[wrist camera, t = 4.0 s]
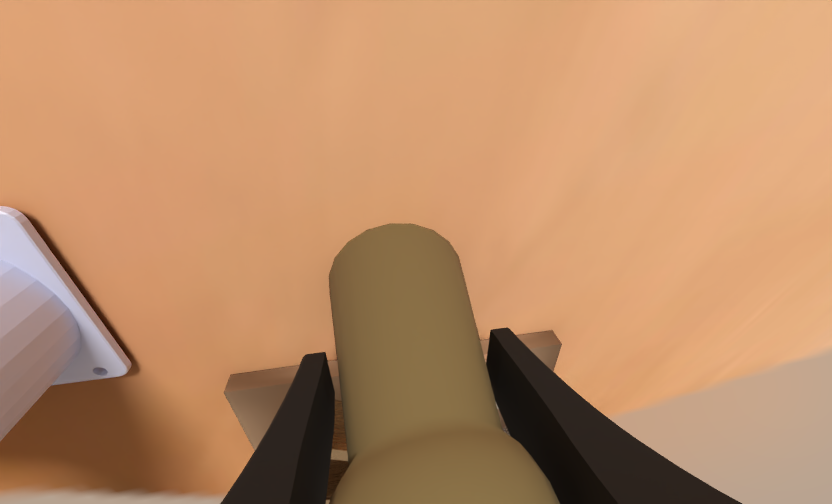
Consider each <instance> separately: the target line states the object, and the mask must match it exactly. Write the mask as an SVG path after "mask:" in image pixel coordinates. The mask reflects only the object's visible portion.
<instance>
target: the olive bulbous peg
mask: <svg viewBox="0 0 832 504" xmlns="http://www.w3.org/2000/svg"><path fill="white" fill-rule="evenodd" d="M329 288H330V299H331V308H332V317H333V326H334V336H335V345H336V354H337V363H338V372H339V381H340V390H341V399H342V408H343V417H344V426H345V435H346V445H347V454H348V463H349V467H348V469H347V471H346V472H345V474H344V475H343V477H342V478H341V480H340V482H339V484H338V485H337V487H336V489H335V491H334V493H333V494H332V496H331V498H330V502H329V504H560V503H559V500H558V498H557V496H556V494H555V492H554V490H553V488H552V486H551V483H550V481H549V480H548V478H547V477H546V476H545V474H544V473H543V472H542V470H541V469H540V467H539V466H538V465H537V463H536V462H535V460H534V459H533V458H532V456H531V455H530V454H529V453H528V452H527V450H526V449H525V448H524V447H523V446H522V445H521V444H520V443H519V442H518V441H516V440H515V439H514V438H512V437H511V436H509V435H508V434H507V433H505V432H504V431H503V429H502V425H501V421H500V417H499V413H498V409H497V405H496V402H495V398H494V394H493V390H492V386H491V382H490V378H489V374H488V370H487V366H486V362H485V358H484V354H483V350H482V346H481V342H480V338H479V335H478V331H477V327H476V323H475V319H474V315H473V311H472V307H471V303H470V299H469V295H468V291H467V287H466V283H465V279H464V275H463V272H462V268H461V264H460V260H459V256H458V255H457V253H456V252H455V250H454V249H453V247H452V245H451V244H450V242H449V241H447V240H446V239H445V238H443V237H442V236H440V235H439V234H438V233H436V232H435V231H434V230H431V229H428V228H424V227H421V226H418V225H415V224H387V225H383V226H380V227H376V228H373V229H369V230H366V231H365V232H363V233H362V234H360V235H358V236H357V237H355V238H354V239H352V240H351V241H349V242H348V243H347V244H346V245H345V246H344V248H343V249H342V250H341V251H340V252H339V254H338V255H337V256H336V257H335V259H334V262H333V265H332V268H331V271H330V274H329Z"/></svg>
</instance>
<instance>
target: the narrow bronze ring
mask: <svg viewBox="0 0 832 504" xmlns="http://www.w3.org/2000/svg"><path fill="white" fill-rule="evenodd" d="M348 467H349V463H348V454H347V445H346V435H345V426H344V417H343V408H342V401H341V400H335V424H334V434H333V443H332V452H331V461H330V469H329V478H328V487H327V496H326V504H329V502H330V498H331V496H332V494H333V493H334V491H335V489H336V487H337V485H338V484H339V482H340V480H341V478H342V477H343V475H344V474H345V472H346V471H347V469H348Z"/></svg>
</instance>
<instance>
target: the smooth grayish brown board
mask: <svg viewBox="0 0 832 504" xmlns="http://www.w3.org/2000/svg"><path fill="white" fill-rule="evenodd" d="M516 336H517V337H518V338H519V339H520V340H521V341H522V342H523V343H524V344H525V345H526V346H527V347H528V348H529V349H530V350H531V351H532V352H533V353H534V354H535V355H536V356H537V357H538V358H539V359H540V360H541V361H542V362H543V363H544V364H545V365H546V366H547V367H549V368H550V369H551V370H552V371H554V368H555V364H556V361H557V358H558V355H559V352H560V348H561V345H562V344H561V342H560V341H559V339H558V338H557V336H556V335H555V334H554V332H553V331H545V332H538V333H530V334H523V335H516ZM480 342H481V346H482V350H483V354H484V355H485V354H487V352H488V345H489V339H487V340H480ZM328 365H329V370H330V374H331V378H332V382H333V386H334V390H335V400H341V401H342V399H341V390H340V381H339V372H338V363H337V360H334V361H328ZM299 366H300V365H298V366H291V367H283V368H276V369H269V370H262V371H254V372H247V373H240V374H233V375H230V377H229V380H228V383H227V385H226V388H225V391H224V394H225V396H226V398H227V400H228V402H229V403H230V405H231V407H232V409H233V411H234V413H235V415H236V417H237V418H238V420H239V422H240V424H241V426H242V428H243V430H244V432H245V433H246V435H247V437H248V439H249V441H250V443H251V445H252V447H253V448H254V450H256V448H257V447H258V445H259V443H260V442H261V440H262V438H263V437H264V435H265V433H266V431H267V430H268V428H269V426H270V424H271V423H272V421H273V419H274V417H275V415H276V413H277V411H278V409H279V408H280V406H281V404H282V402H283V400H284V398H285V396H286V394H287V392H288V390H289V388H290V386H291V384H292V382H293V379H294V377H295V375H296V373H297V371H298V368H299ZM498 413H499V417H500V421H501V425H502V428H504V427H506V425H505V422H504V420H503V418H502V415H501V413H500V411H499V409H498Z"/></svg>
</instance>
